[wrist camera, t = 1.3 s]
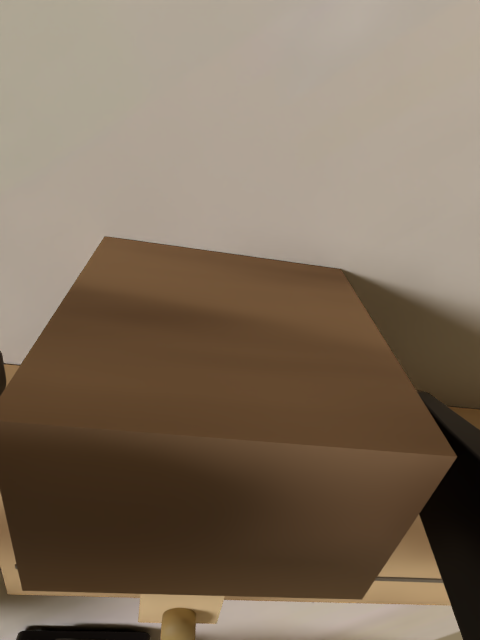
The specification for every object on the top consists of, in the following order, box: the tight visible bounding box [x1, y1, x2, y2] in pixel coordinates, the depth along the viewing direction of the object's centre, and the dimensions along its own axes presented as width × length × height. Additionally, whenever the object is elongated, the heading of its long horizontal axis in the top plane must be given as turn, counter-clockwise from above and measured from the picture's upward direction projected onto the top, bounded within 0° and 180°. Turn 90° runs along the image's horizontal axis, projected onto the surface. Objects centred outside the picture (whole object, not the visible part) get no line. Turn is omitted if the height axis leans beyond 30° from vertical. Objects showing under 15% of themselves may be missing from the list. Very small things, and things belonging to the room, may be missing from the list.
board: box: [0, 364, 480, 605], centre depth 14 cm, size 9×22×2 cm, turn 80°
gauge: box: [0, 237, 457, 640], centre depth 10 cm, size 11×6×6 cm, turn 170°
